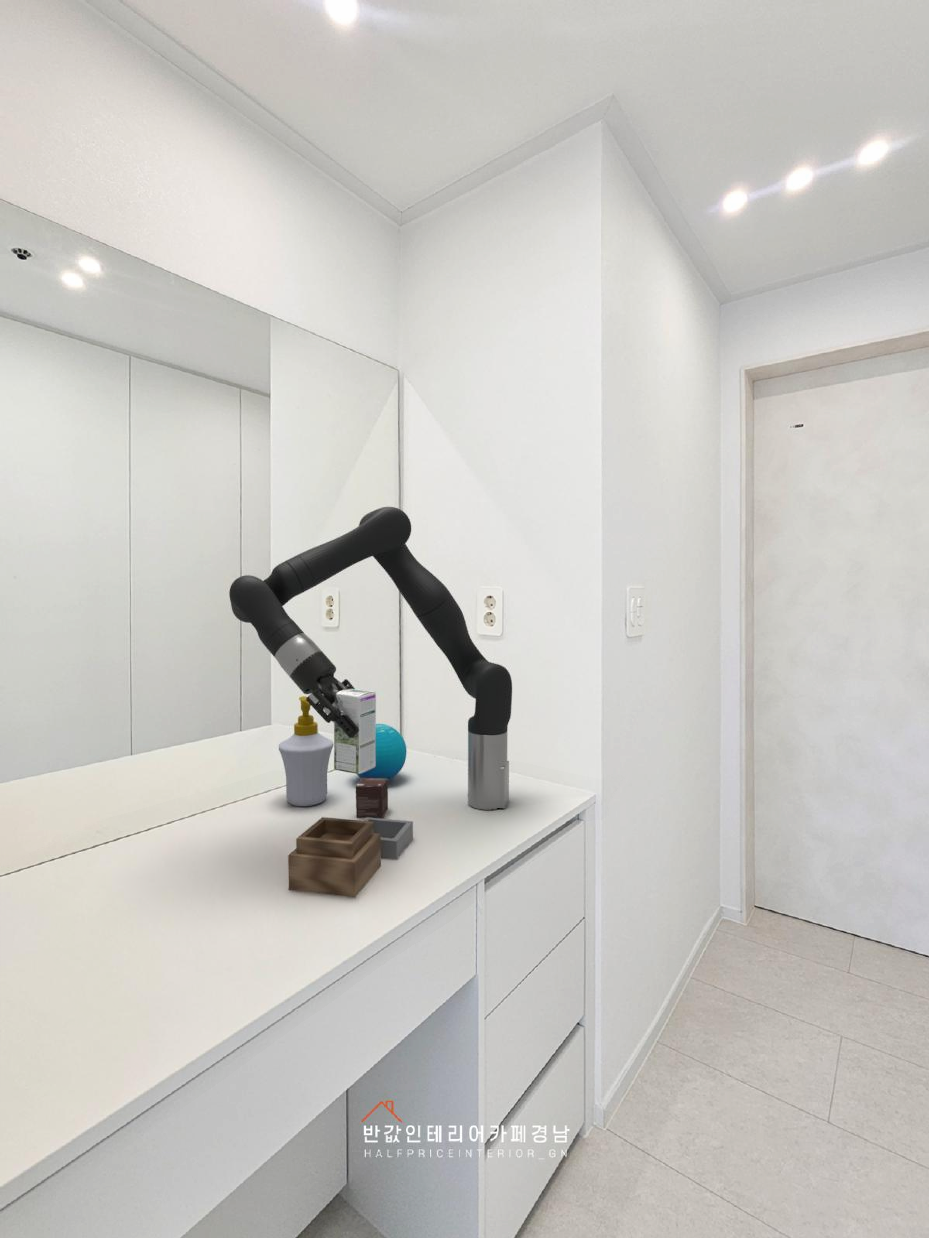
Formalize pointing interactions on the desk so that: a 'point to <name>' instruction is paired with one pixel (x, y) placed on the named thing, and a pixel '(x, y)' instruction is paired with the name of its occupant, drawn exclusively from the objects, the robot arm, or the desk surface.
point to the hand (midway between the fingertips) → (363, 729)
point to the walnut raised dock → (335, 857)
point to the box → (371, 797)
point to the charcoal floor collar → (392, 835)
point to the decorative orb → (387, 753)
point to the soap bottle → (306, 761)
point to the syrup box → (361, 747)
